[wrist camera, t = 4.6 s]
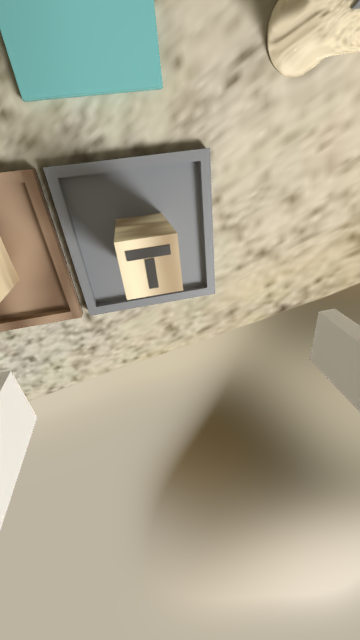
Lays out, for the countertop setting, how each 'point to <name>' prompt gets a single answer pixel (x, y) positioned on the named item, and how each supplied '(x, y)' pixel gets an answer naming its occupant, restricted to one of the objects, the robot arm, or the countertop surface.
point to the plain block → (6, 272)
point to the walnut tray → (33, 256)
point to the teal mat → (81, 47)
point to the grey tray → (129, 201)
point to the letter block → (148, 255)
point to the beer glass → (311, 33)
